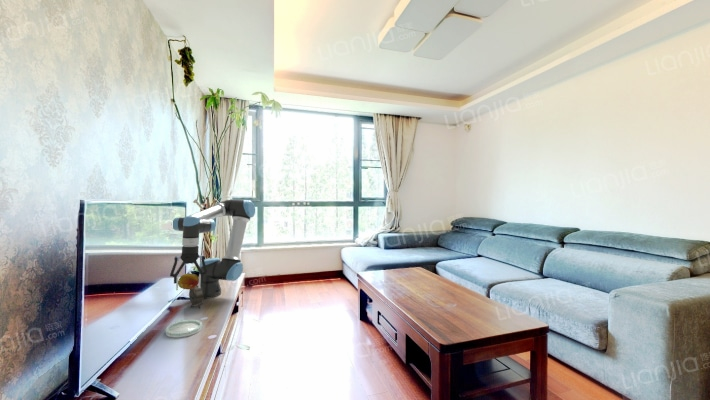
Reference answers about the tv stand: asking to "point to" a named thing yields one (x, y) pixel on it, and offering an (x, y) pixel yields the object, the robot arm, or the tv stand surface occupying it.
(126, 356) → the tv stand surface
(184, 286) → the fruit
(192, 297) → the alarm clock
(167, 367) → the tv stand surface
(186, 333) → the dish
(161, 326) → the tv stand surface
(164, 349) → the tv stand surface
